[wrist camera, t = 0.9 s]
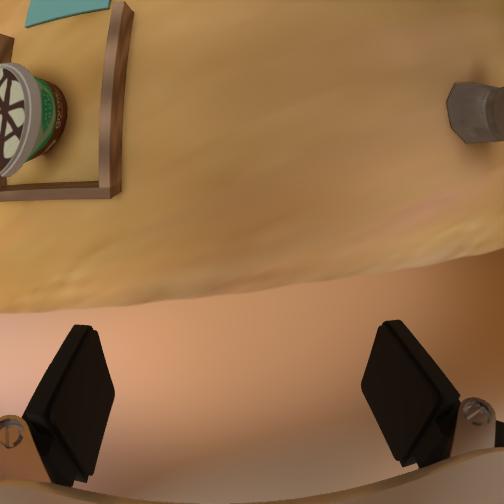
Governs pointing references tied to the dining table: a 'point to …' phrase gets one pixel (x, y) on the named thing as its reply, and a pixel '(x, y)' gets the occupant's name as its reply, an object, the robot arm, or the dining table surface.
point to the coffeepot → (477, 112)
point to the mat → (61, 9)
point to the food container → (27, 117)
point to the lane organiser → (108, 126)
